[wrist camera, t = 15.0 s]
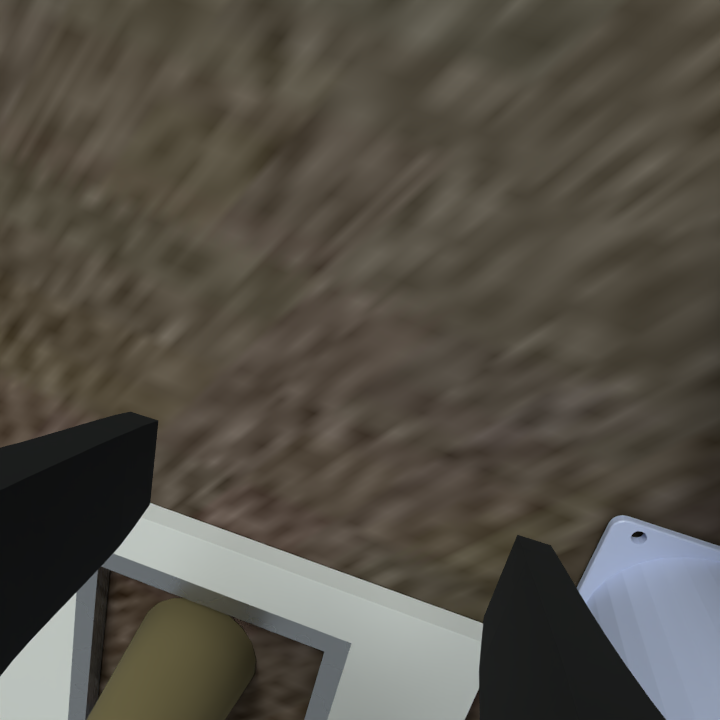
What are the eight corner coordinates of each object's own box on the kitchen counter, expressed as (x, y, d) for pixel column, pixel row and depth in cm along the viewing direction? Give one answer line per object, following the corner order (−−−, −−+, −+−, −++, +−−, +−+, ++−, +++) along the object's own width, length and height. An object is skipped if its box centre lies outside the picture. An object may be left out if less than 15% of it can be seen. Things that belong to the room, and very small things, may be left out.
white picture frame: (496, 628, 23) (497, 647, 22) (387, 876, 30) (384, 899, 29) (-8, 445, 26) (-26, 455, 25) (-7, 708, 33) (-21, 723, 32)
